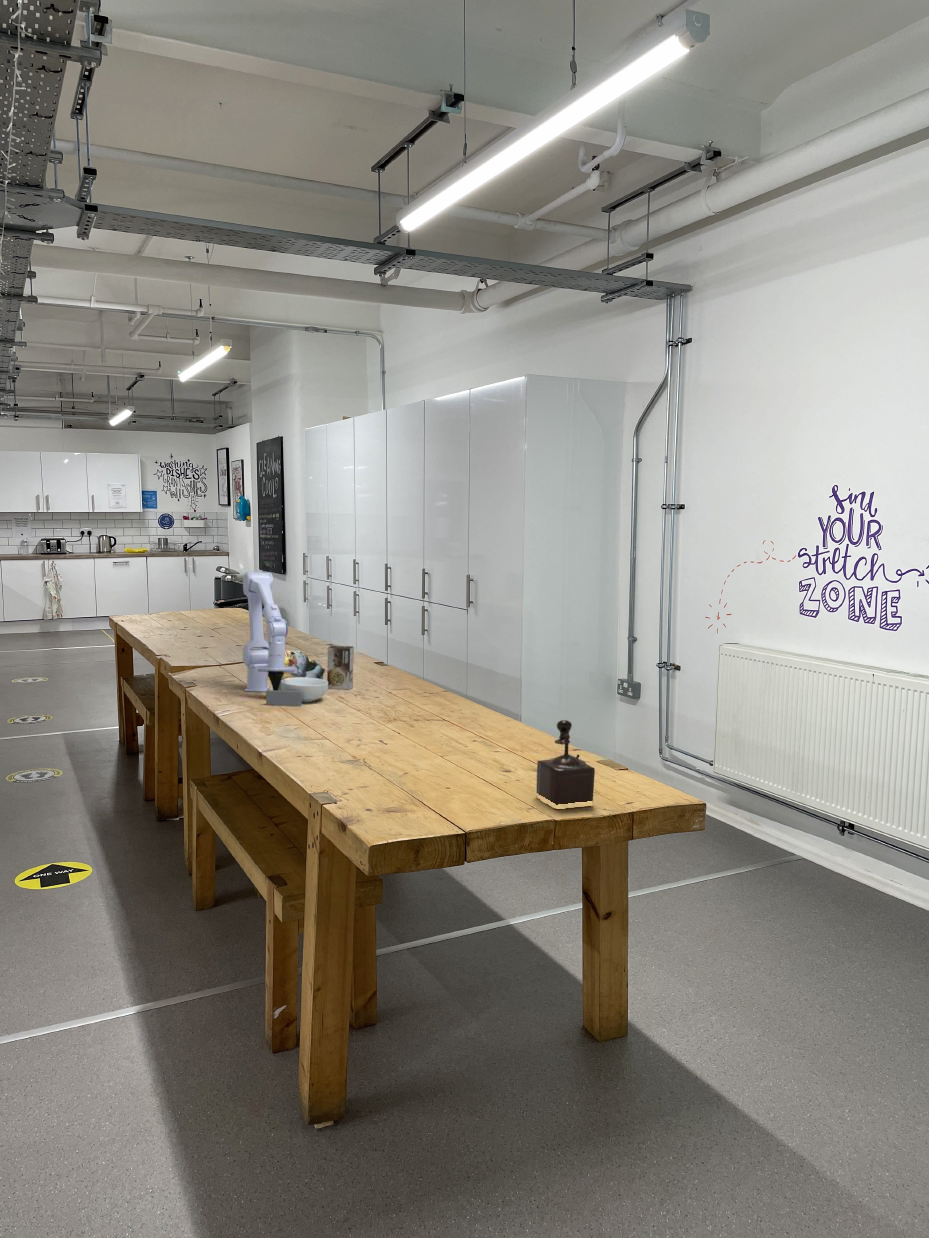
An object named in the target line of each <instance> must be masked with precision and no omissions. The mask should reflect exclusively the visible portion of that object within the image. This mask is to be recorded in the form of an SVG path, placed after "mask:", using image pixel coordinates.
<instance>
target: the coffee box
mask: <svg viewBox="0 0 929 1238" xmlns="http://www.w3.org/2000/svg"><path fill="white" fill-rule="evenodd" d="M354 648H355V647H354V646H350V645H330V646H329V647H327V665H326V666H327V671H326V672H327V674H326V675H327V676H326V678H327V679H326V681H328V689H327V690H330V689H334V690H349V691H350V690H351V689H352V688H353V687H354V684H353V683H354Z"/></svg>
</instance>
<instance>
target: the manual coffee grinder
mask: <svg viewBox="0 0 929 1238" xmlns="http://www.w3.org/2000/svg"><path fill="white" fill-rule="evenodd" d="M556 729H557V730H558V731H559V733H560V734H559V736H558V738H559V739H555V740H554V744H556V745H564V753H563V754H561V755H559V756H556V757H554V758H553V759H543V760H537V763H536V764H537V766H536V768H537V769H536V793H538V794H539V795H541V796H543V797H545V798H546V799H548V800H550V801H551V802H553V803H555V804H556V805H558V804H568V803H575V802H587V801H593V802H594V790H595V776H596V775H595V774H596V773H595V772H596V771H595V770H596V769H595V767H593V766H591V765H590V764H587V763H586V761H585V760H582V759H581V758H580V754H577V755H576V756H573V755H571V754H569V744H570V743H571V740H570V739H571V736H570V731H571V730H572V722H571V721H570V720H569V719H568V720H566V719H562V720H559V721H558V722H557V723H556Z"/></svg>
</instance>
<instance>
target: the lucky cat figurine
mask: <svg viewBox="0 0 929 1238" xmlns="http://www.w3.org/2000/svg"><path fill="white" fill-rule="evenodd" d="M289 656H290V657H289V658H288V660H287V667H297V673H296V674H295V673H289V674H290V675H291V676H293V677H306V678H317V679H323V680H324V675H325V673H326V672H325V671H326V668H323V667H322V666H321V664H320V663H318V662H316V659H311V661H310V660H309V656H308V655H307V654H305V653H302V652H301V651H299V652H298V653H296V652H293V651H290V655H289Z"/></svg>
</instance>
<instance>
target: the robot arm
mask: <svg viewBox="0 0 929 1238" xmlns="http://www.w3.org/2000/svg"><path fill="white" fill-rule="evenodd" d="M273 585H274V576H273V573H271V572H270V571H269V572H268V571H267V572H259V571H258V572H257V571H255V572H253V571H252V572H251V571H246V572H245V573H244V574H243V577H242V588H243V589H242V591H243V595H244V596H246V597H247V603H248V617H249V635H250V637H249V638H250V640H249V641H247V642H246V643H245V644H244V645H243V651H242V663H243V664H244V665H245V666H246V668H247V671H246V673H247V675H246V680H247V681H246V685H247V686H246V688H245V689H244V690H243V691H244V692H265V693H266V691H267V690H269V689H270V688H271V686H272V690H275V691H278V688H279V684H280V681H281V680H282V679H283V677H284V675H285V674H290V673H295V674H296V673H297V667H288V666H285V654H286V653H285V652H286V651H285V650H286V638H287V636H288V634H289V625H288V622H287V621H286V620H285V618H282V614H281V611H280V608H279V605H277V604H275V602H274V597H273V593H272V588H273ZM263 616H264V619H263ZM264 620H265V622H266V623H265V624H266V627H265V632H266V637H267V638H266V640H265V636H264V622H263V621H264ZM268 679H269V681H270V684H271V685H268Z"/></svg>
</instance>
